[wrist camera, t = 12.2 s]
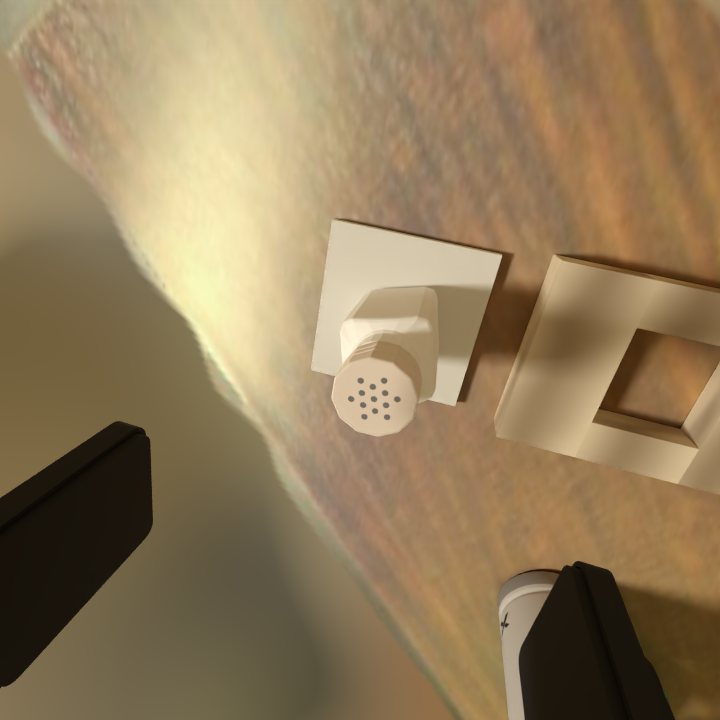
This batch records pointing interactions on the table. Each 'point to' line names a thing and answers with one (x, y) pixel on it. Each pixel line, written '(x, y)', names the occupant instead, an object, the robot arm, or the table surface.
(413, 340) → the pepper shaker
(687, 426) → the socket block
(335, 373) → the beige mat
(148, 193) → the table surface
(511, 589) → the travel mug
